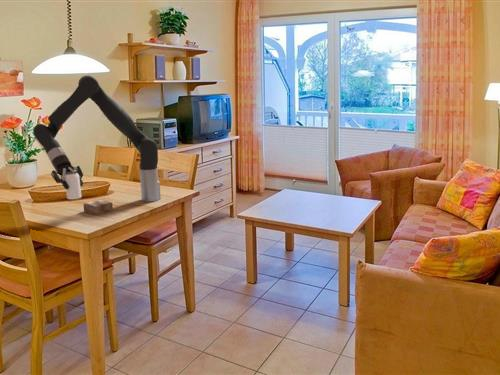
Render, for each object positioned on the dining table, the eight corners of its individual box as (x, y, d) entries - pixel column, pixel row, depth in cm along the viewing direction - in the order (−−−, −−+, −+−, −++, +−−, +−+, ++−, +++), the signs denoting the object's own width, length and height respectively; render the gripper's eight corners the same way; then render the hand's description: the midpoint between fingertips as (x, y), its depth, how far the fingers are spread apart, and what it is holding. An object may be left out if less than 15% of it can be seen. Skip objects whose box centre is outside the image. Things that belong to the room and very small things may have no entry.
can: (83, 195, 229) (80, 171, 226) (79, 199, 223) (76, 174, 220) (69, 196, 229) (66, 171, 226) (65, 200, 222) (62, 174, 220)
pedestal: (101, 207, 247) (100, 199, 246) (113, 210, 241) (112, 202, 240) (84, 211, 240) (83, 203, 239) (95, 215, 233) (94, 206, 232)
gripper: (46, 156, 220) (62, 185, 216) (75, 152, 231) (91, 179, 226) (42, 166, 225) (58, 194, 220) (70, 161, 236) (86, 188, 231)
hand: (74, 186), depth 223 cm, fingers closed on can, 6 cm apart
